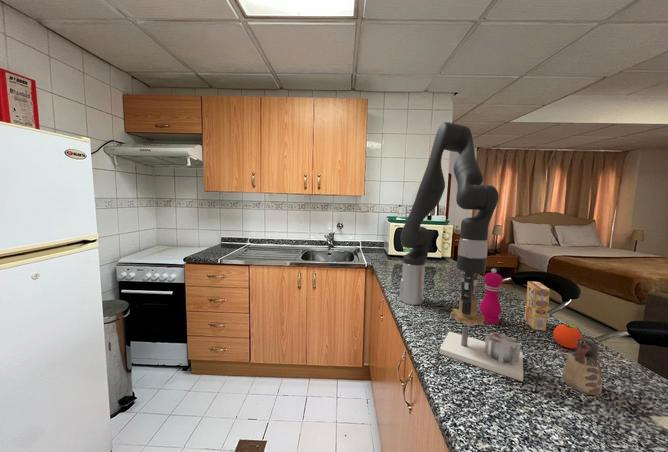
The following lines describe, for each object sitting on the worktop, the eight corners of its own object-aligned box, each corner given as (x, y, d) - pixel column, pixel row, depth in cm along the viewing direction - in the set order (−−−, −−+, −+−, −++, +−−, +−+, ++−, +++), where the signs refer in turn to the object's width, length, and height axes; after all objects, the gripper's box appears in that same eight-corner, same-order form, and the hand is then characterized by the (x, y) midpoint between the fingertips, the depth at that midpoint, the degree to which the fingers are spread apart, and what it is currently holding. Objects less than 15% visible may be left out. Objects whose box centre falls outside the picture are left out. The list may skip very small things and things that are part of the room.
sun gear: (483, 358, 74) (484, 341, 73) (486, 345, 81) (487, 329, 80) (518, 369, 69) (520, 351, 69) (518, 355, 76) (520, 338, 76)
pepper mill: (503, 325, 98) (509, 272, 96) (482, 323, 99) (487, 270, 97) (495, 317, 105) (500, 267, 103) (475, 315, 106) (480, 265, 104)
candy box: (546, 331, 94) (551, 289, 93) (532, 329, 95) (537, 287, 94) (536, 321, 103) (540, 282, 101) (523, 319, 104) (527, 280, 102)
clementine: (565, 339, 89) (568, 319, 88) (589, 351, 82) (592, 329, 81) (546, 341, 87) (549, 320, 86) (569, 353, 80) (572, 331, 80)
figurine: (608, 391, 64) (615, 344, 63) (589, 398, 62) (596, 349, 61) (573, 373, 71) (579, 330, 70) (555, 378, 69) (561, 334, 67)
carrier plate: (439, 353, 78) (441, 330, 78) (448, 335, 89) (450, 315, 88) (522, 381, 67) (525, 354, 66) (522, 357, 78) (524, 333, 77)
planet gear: (448, 320, 78) (449, 298, 78) (454, 310, 86) (455, 290, 85) (482, 328, 73) (484, 306, 73) (485, 317, 81) (487, 297, 80)
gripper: (462, 249, 86) (458, 301, 87) (453, 256, 74) (448, 315, 75) (489, 252, 81) (484, 306, 83) (484, 260, 70) (478, 323, 71)
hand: (467, 310), depth 79 cm, fingers closed on planet gear, 4 cm apart
